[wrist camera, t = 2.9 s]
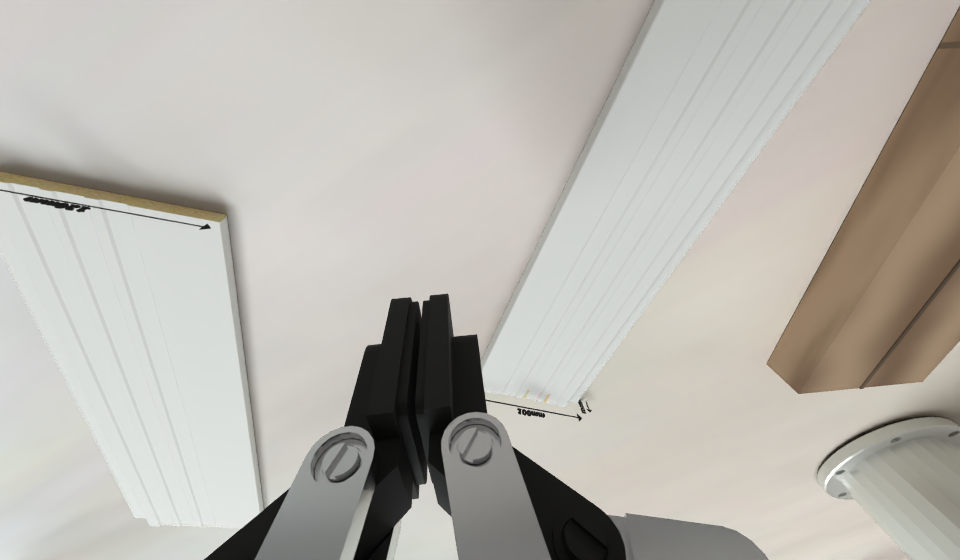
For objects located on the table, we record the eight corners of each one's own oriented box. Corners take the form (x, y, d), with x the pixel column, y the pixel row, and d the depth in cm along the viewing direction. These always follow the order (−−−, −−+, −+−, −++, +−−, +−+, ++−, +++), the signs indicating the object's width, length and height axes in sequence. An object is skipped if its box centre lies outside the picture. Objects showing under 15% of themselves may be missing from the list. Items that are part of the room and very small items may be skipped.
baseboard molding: (124, 505, 31) (269, 510, 33) (95, 543, 28) (255, 546, 30) (-61, 152, 15) (236, 209, 18) (-159, 168, 13) (202, 232, 15)
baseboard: (970, -114, 13) (778, -277, 11) (1087, -156, 11) (871, -377, 8) (588, 397, 27) (470, 373, 25) (601, 429, 25) (472, 405, 23)
